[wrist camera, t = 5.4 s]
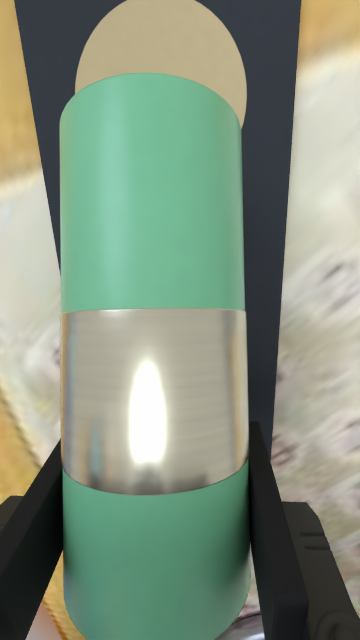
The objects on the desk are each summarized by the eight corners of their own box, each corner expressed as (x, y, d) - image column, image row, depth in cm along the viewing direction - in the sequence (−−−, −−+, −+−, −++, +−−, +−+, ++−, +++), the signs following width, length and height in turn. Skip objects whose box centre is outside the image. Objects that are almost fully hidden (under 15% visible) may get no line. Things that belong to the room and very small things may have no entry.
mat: (268, 468, 21) (269, 474, 21) (94, 465, 22) (92, 470, 21) (301, -41, 13) (304, -50, 12) (16, -12, 13) (10, -19, 13)
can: (240, 515, 15) (271, 674, 8) (100, 510, 15) (18, 657, 8) (233, 179, 15) (257, 59, 8) (96, 186, 15) (15, 79, 9)
